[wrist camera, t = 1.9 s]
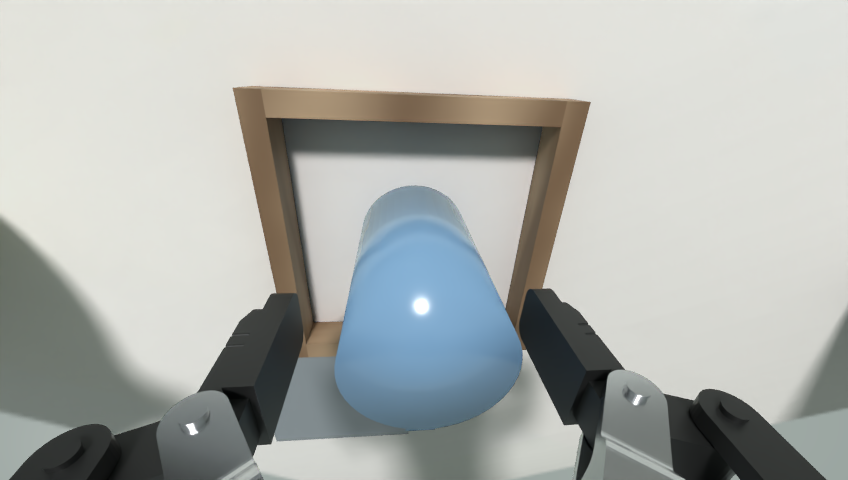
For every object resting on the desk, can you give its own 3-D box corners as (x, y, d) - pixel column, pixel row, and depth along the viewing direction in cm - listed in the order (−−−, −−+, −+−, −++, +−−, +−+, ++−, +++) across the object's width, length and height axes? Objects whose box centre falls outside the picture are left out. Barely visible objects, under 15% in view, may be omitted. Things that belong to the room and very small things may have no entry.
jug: (359, 184, 16) (324, 298, 8) (468, 186, 16) (539, 294, 8) (366, 311, 19) (347, 475, 12) (455, 309, 20) (495, 465, 12)
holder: (569, 99, 15) (590, 102, 13) (516, 328, 21) (526, 349, 20) (251, 86, 13) (232, 87, 12) (298, 335, 20) (290, 357, 18)
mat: (410, 337, 21) (411, 339, 21) (408, 431, 25) (408, 433, 25) (250, 342, 20) (248, 344, 20) (277, 438, 24) (276, 441, 24)
